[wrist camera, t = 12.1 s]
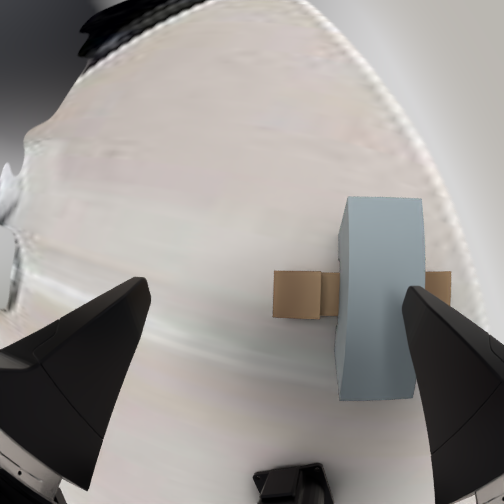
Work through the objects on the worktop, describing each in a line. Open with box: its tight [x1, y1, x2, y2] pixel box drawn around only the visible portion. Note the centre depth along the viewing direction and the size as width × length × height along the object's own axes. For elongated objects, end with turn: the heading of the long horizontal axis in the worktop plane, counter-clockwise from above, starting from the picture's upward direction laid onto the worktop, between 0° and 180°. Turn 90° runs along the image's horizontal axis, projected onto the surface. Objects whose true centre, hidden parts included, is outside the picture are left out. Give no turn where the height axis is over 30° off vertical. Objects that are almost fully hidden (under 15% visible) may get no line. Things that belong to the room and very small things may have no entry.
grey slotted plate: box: [334, 197, 425, 401], centre depth 16 cm, size 9×4×10 cm, turn 178°
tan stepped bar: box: [273, 271, 451, 319], centre depth 19 cm, size 12×3×4 cm, turn 88°
